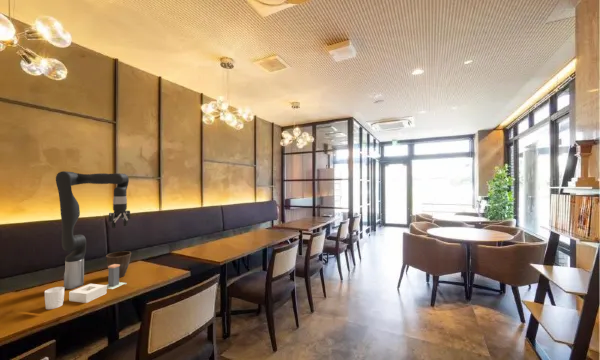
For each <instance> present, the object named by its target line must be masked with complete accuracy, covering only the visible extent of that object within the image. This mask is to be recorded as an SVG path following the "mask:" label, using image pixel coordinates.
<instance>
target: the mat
mask: <svg viewBox="0 0 600 360" xmlns="http://www.w3.org/2000/svg"><path fill="white" fill-rule="evenodd" d="M106 285H107V290H108V289H109V290H114V289H116V288H119V287H121V286H123V285H127V282H120V281H119V285H116V286H114V287H111V286H108V284H106Z"/></svg>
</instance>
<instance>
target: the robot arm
mask: <svg viewBox="0 0 600 360" xmlns="http://www.w3.org/2000/svg"><path fill="white" fill-rule="evenodd" d="M129 180H130V179H129V176H128V175H127V174H126V173H119V172H118V173H101V172H100V173H90V174H84V173H78V172H73V171H66V170H65V171H64V170H63V171H59V172H58V173H56V175H55V183H56V187H57V193H58V198H59V208H60V209H59V210H60V218H61V219H60V220H61V247H62V249H63V250H64V251H65V252H71V253H69V254H67V255H66V256H65V257H64V258H65V261H64V263H65V266H64V268H65V269H64V273H63V287H65V289H66V290H74V289H78V288H80V287H83V286H85V285H84V284H85V283H84V282H85V255H86V252H87V239H86V237H85V235H83V234H75V235H74V228H75V225H76V223H77V222H78V220H79V218H80V215H81V214H80V213H81V211H80V204H79V202H78V200H77V198H76V197H75V196H74V193H73V190H72V186H78V185H83V184H94V185H107V184H109V185H116V187H115V188H113V199H112V202H113V203H112V210H113V212H109V213H108V222H109V223H111V228H112V229H116V228H117V221H118V220H119V219H122V220H123V226H124V227H127V226H128V221H129V220H131V211H130V210H127V209H128V198H127V197H128V196H127V189H128V187H129ZM65 289H64V290H65Z"/></svg>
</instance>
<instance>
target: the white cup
mask: <svg viewBox="0 0 600 360" xmlns="http://www.w3.org/2000/svg"><path fill="white" fill-rule="evenodd" d="M64 299H65V287H64V286H54V287H51V288H48V289H46V290H44V303H45V304H44V305H45V309H46V310H53V309H57V308H60V307H62V306H64V305H63V304H64V302H65V301H64Z"/></svg>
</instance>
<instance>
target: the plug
mask: <svg viewBox="0 0 600 360" xmlns="http://www.w3.org/2000/svg"><path fill="white" fill-rule="evenodd" d="M119 266H120V264H113V265H110V266H108V265H107V269H108V273H107V274H108V277H107V278H108V279H107V280H108V281H107V282H108V286H111V287H114V286H116V285H119V282H120V277H119Z"/></svg>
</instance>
